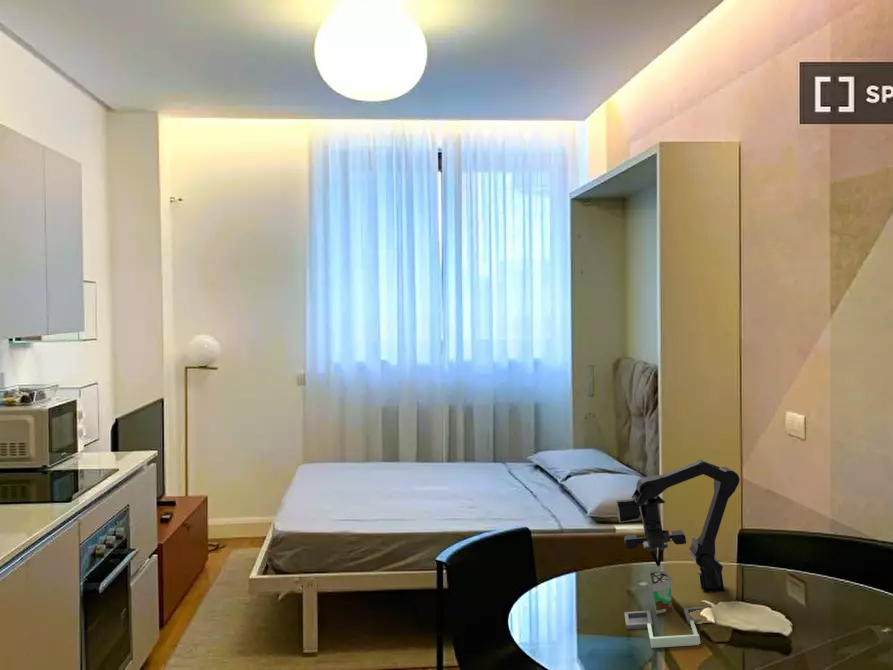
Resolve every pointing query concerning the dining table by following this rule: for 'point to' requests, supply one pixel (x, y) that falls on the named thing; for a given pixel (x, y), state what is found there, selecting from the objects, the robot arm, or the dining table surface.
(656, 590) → the food container
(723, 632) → the dining table surface
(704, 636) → the dining table surface
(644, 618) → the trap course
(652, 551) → the robot arm
